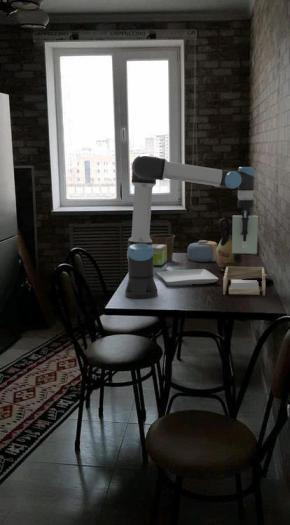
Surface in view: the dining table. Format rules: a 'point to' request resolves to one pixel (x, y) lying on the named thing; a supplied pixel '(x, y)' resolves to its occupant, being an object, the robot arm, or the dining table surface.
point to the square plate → (187, 277)
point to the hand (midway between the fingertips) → (244, 246)
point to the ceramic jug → (226, 248)
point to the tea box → (159, 258)
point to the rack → (243, 275)
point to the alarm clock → (202, 251)
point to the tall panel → (251, 234)
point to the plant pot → (164, 243)
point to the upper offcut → (244, 284)
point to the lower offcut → (244, 291)
